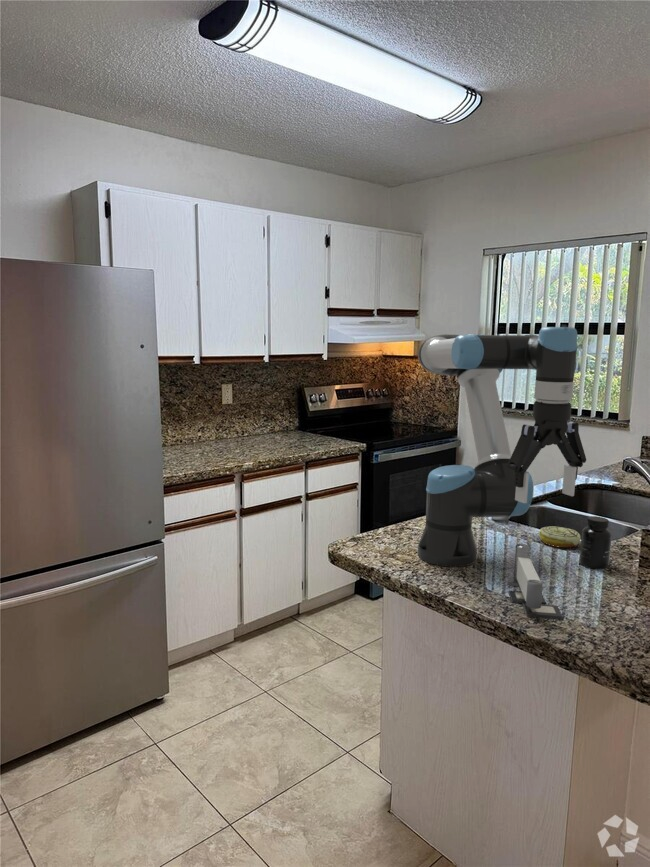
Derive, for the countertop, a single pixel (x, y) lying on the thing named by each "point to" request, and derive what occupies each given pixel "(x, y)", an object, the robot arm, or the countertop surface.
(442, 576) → the countertop surface
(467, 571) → the countertop surface
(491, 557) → the countertop surface
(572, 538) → the decorated donut
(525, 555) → the pivot post
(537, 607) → the swing bar
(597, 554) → the supplement bottle
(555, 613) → the label plate
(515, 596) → the label plate
